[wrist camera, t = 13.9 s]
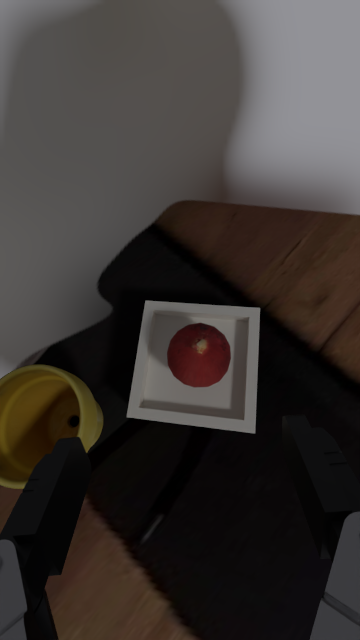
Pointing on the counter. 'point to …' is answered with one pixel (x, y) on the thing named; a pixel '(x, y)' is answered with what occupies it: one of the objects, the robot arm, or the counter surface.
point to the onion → (199, 355)
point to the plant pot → (41, 418)
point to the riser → (201, 402)
